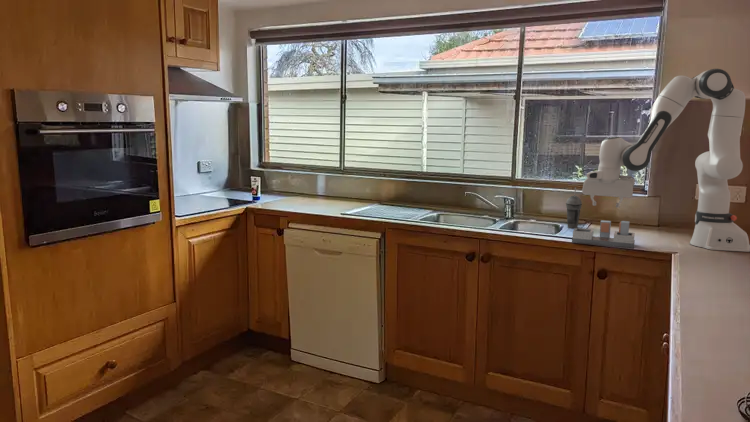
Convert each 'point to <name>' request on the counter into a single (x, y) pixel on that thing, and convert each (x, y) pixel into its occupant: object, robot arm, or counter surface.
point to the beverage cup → (573, 210)
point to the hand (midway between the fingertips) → (605, 206)
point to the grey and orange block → (605, 228)
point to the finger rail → (603, 238)
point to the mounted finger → (624, 227)
